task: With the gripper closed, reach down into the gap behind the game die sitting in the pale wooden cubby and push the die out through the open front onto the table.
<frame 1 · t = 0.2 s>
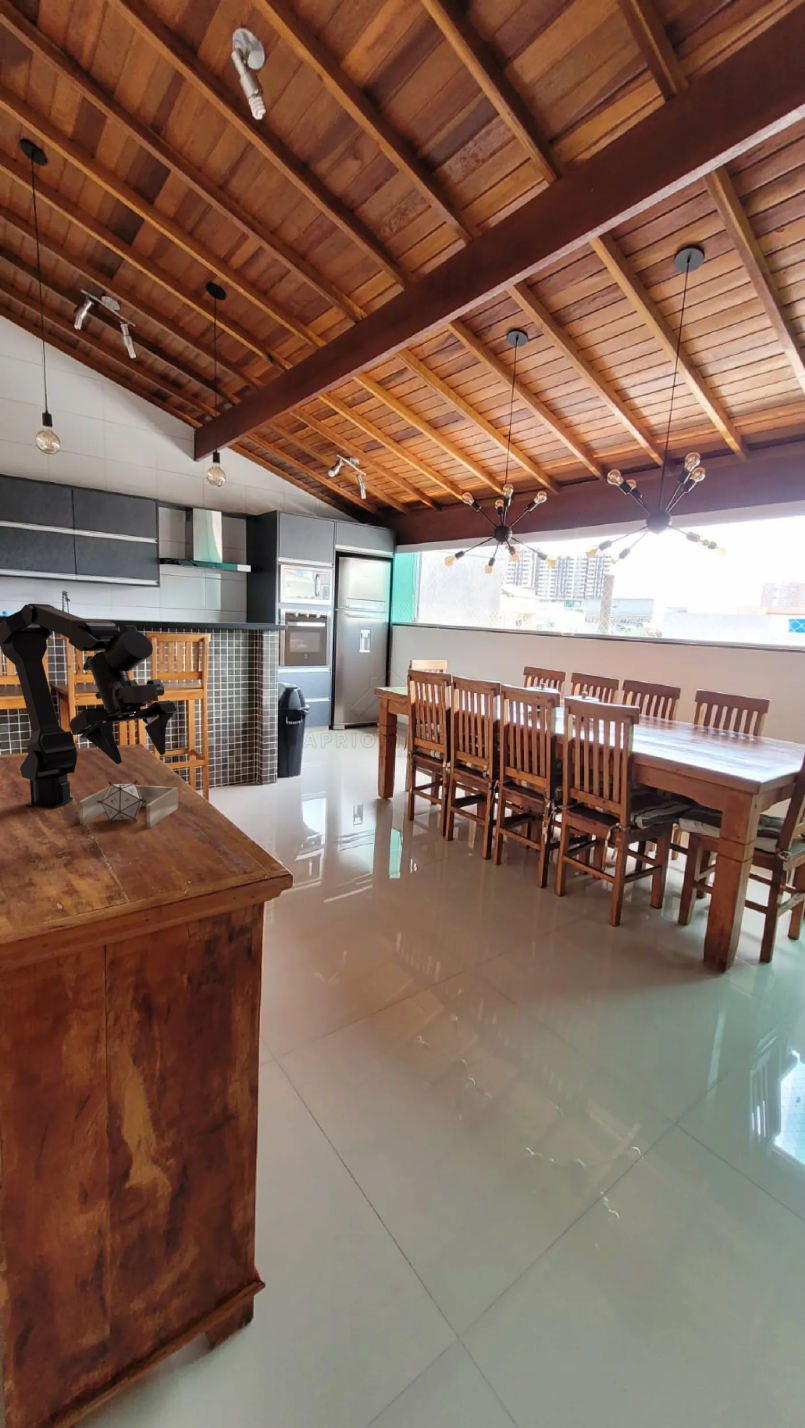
hand: (142, 758, 107), 14 cm above the sideboard top, tool tilted 30°, fingers open, 9 cm apart
game die: (123, 821, 116), on the sideboard top
cubby: (130, 815, 119), on the sideboard top
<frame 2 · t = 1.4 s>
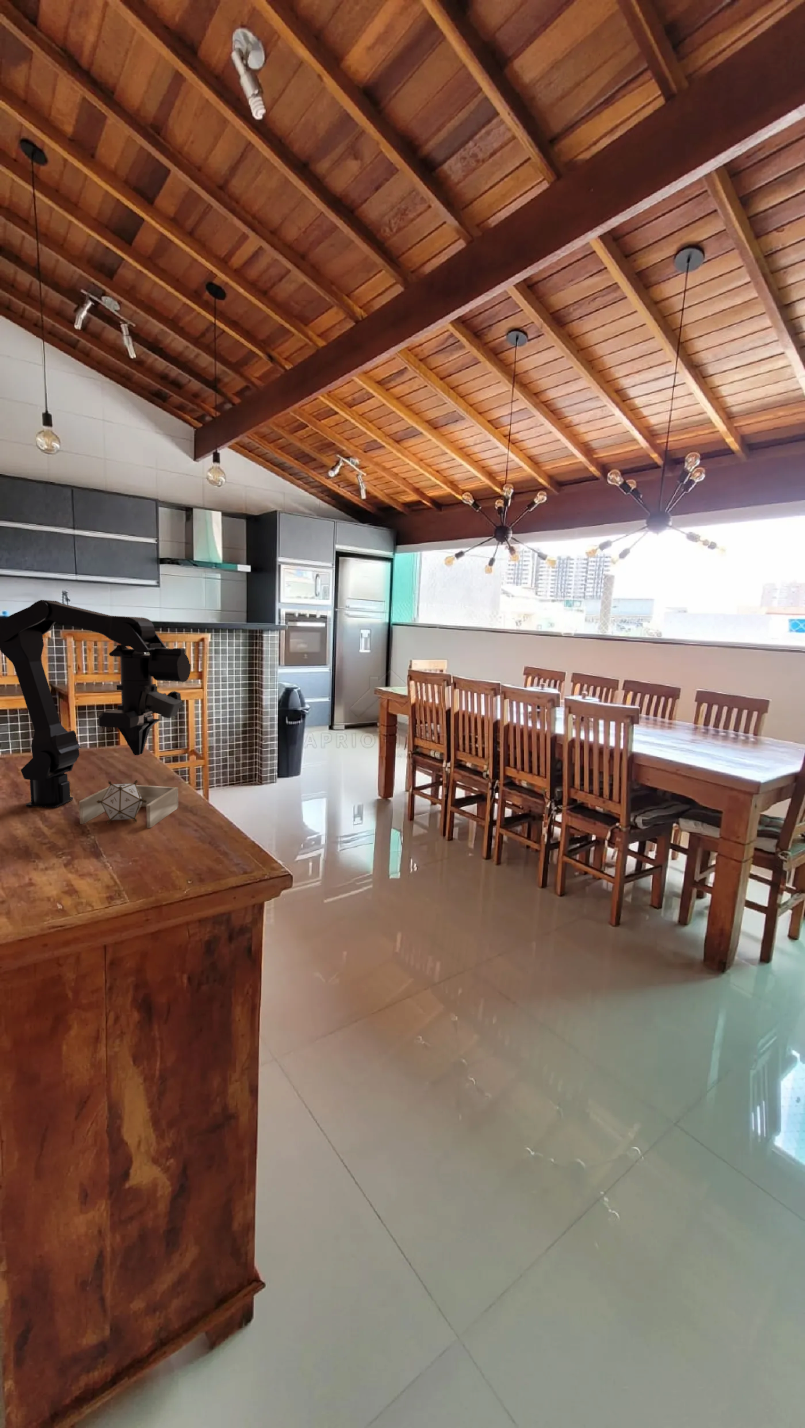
hand: (138, 754, 120), 12 cm above the sideboard top, tool pointing down, fingers closed
nothing on the sideboard top moved.
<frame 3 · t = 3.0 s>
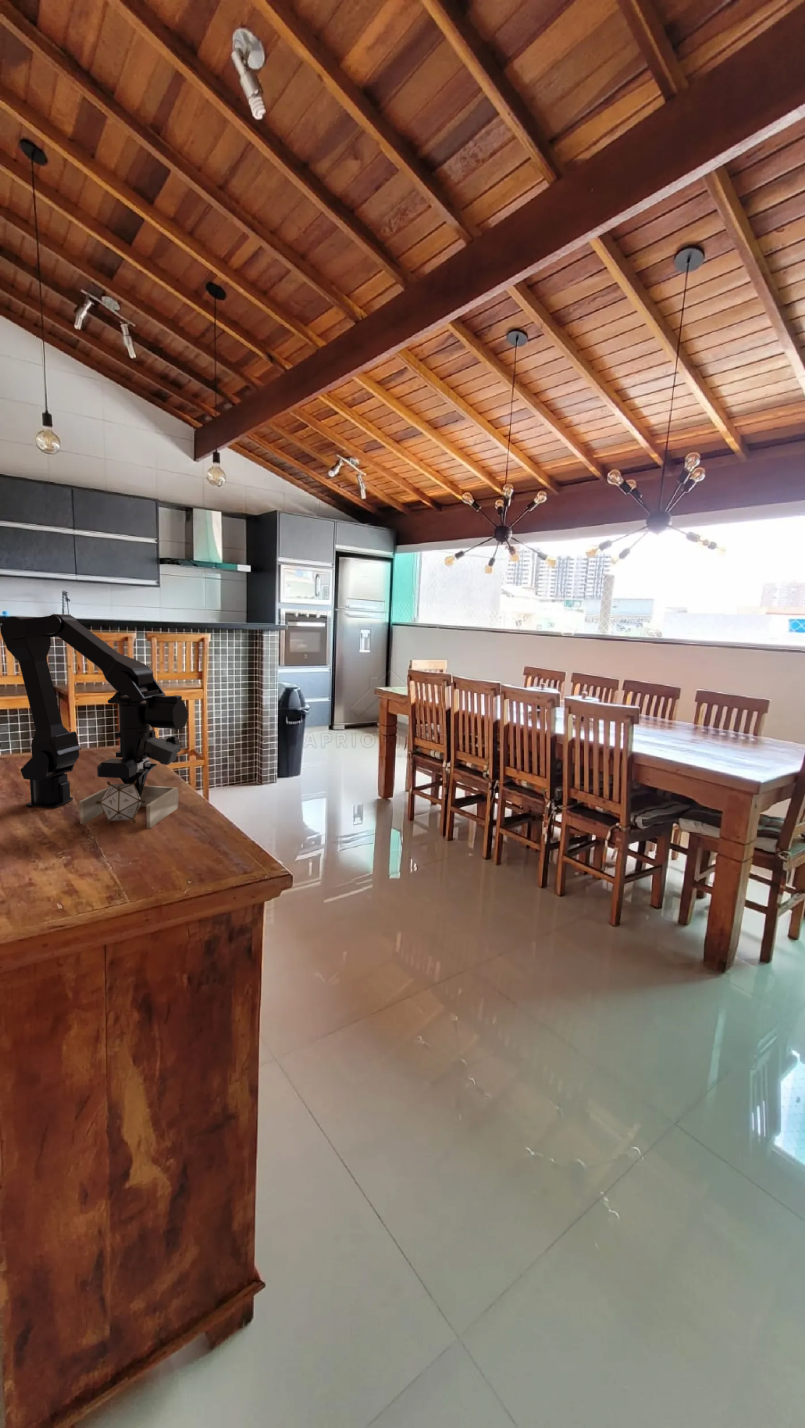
hand: (137, 799, 121), 3 cm above the sideboard top, tool pointing down, fingers closed
game die: (122, 822, 115), on the sideboard top, touching gripper
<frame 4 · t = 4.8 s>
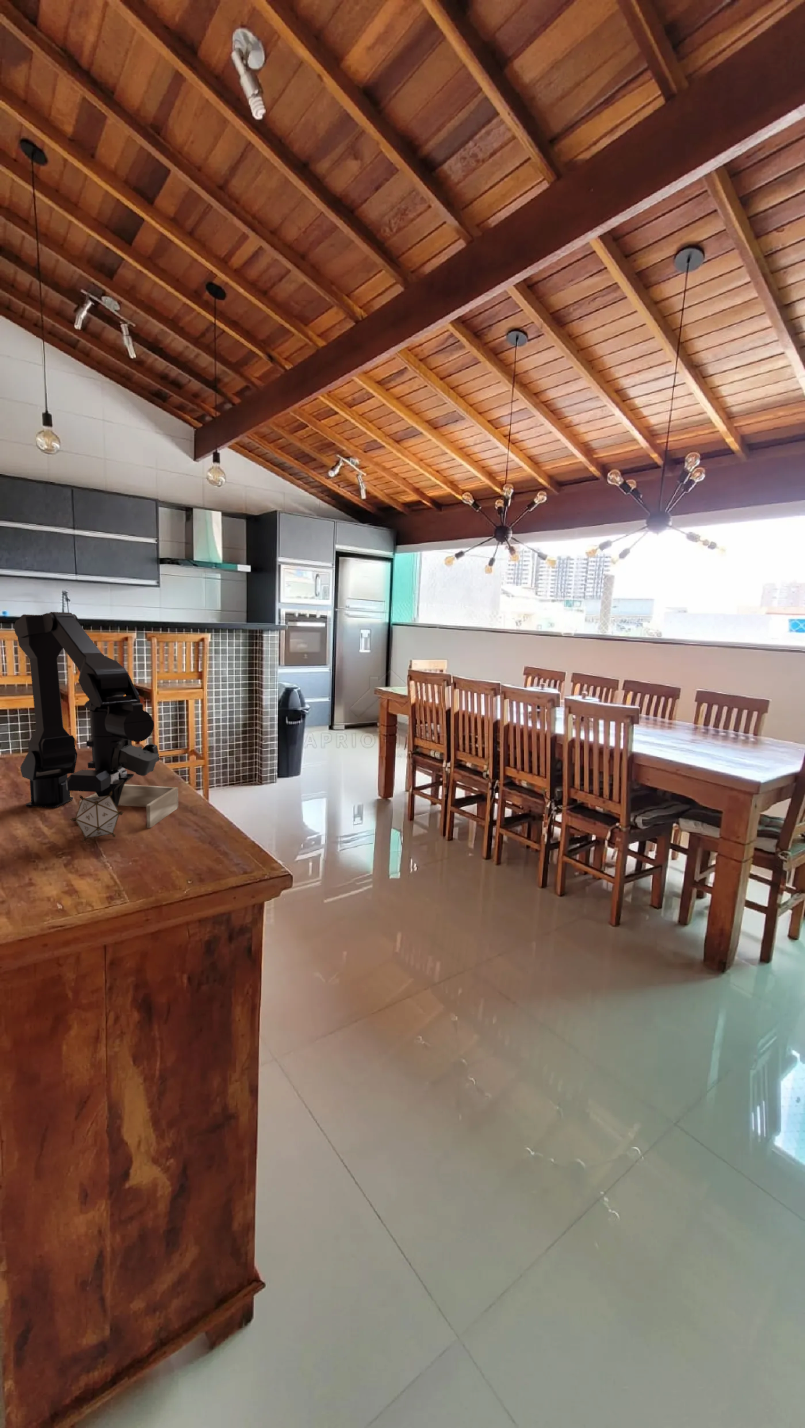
hand: (112, 813, 111), 3 cm above the sideboard top, tool pointing down, fingers closed
game die: (99, 837, 107), on the sideboard top, touching gripper
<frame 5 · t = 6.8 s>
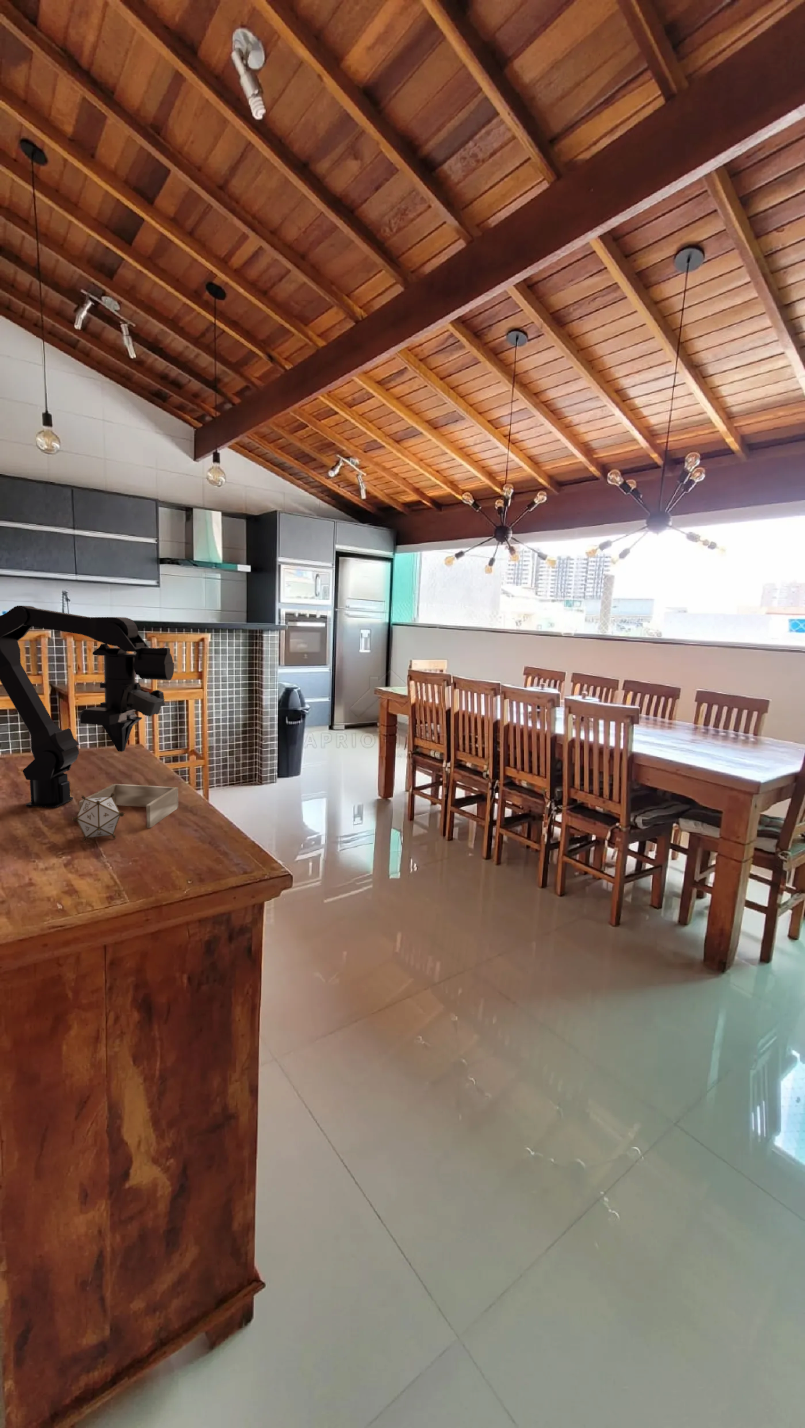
hand: (121, 751, 123), 12 cm above the sideboard top, tool pointing down, fingers closed
game die: (99, 838, 107), on the sideboard top
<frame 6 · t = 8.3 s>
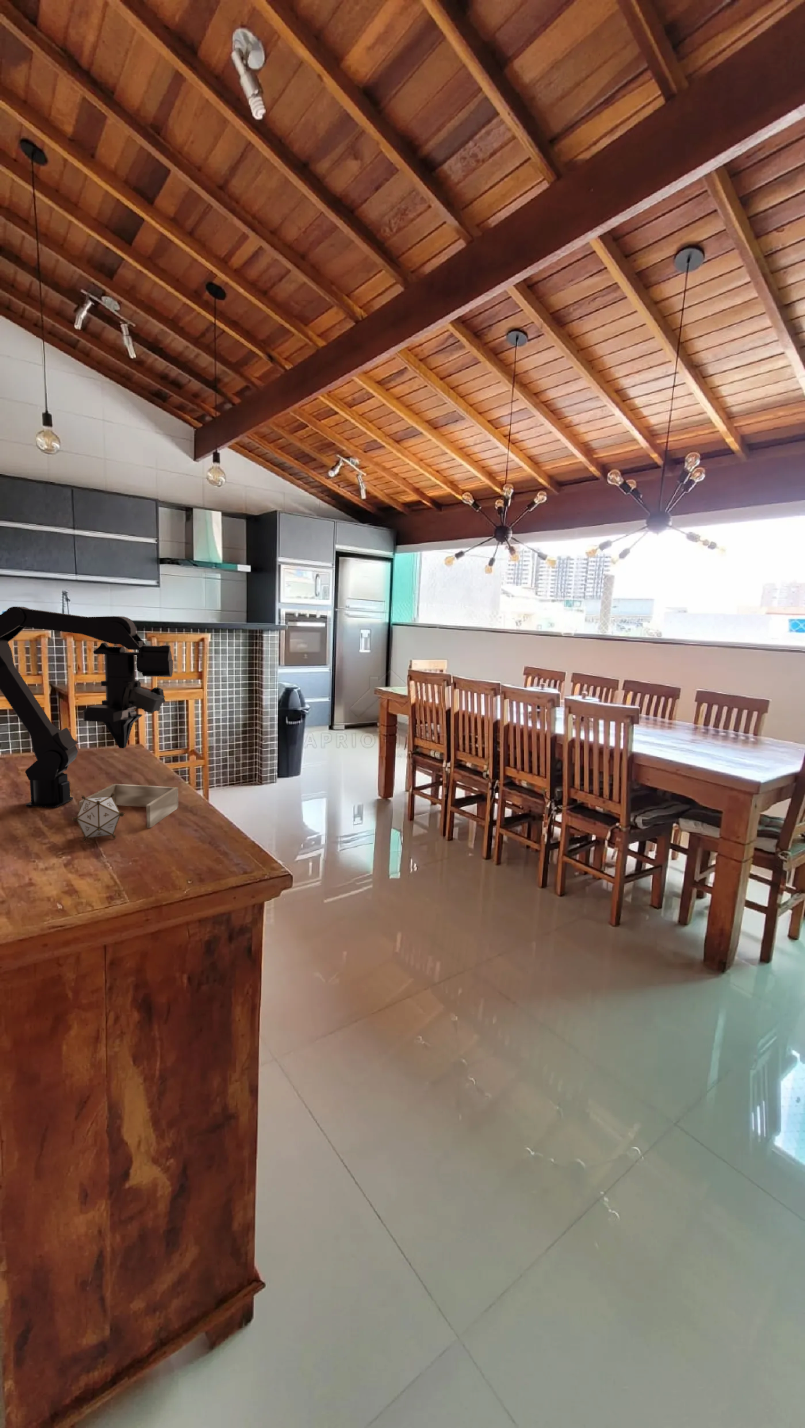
hand: (122, 748, 125), 12 cm above the sideboard top, tool pointing down, fingers closed
nothing on the sideboard top moved.
at the end: game die inside the target area (3.2 cm from its centre), on the sideboard top; game die tilted 0°; game die moved 9.2 cm from its start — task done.
